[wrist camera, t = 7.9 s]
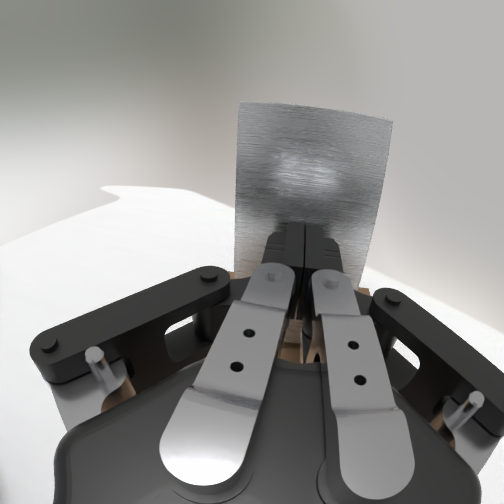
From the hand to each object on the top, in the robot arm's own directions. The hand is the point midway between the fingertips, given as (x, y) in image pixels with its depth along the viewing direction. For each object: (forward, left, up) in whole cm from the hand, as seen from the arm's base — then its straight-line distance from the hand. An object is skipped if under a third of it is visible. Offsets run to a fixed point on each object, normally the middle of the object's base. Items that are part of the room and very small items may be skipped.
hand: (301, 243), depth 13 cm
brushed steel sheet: (+2, +1, -6) cm, 7 cm away
